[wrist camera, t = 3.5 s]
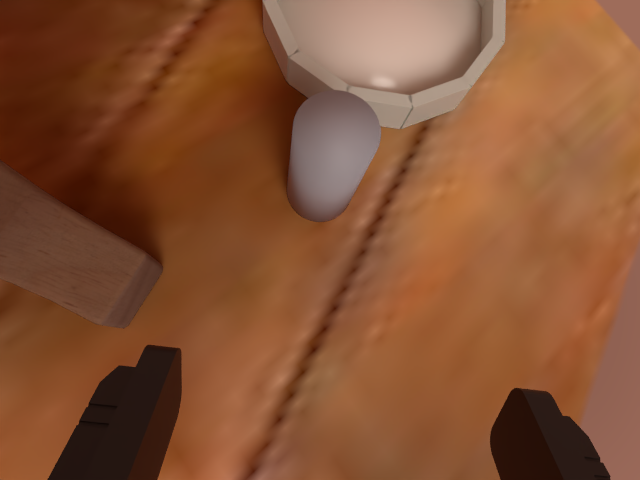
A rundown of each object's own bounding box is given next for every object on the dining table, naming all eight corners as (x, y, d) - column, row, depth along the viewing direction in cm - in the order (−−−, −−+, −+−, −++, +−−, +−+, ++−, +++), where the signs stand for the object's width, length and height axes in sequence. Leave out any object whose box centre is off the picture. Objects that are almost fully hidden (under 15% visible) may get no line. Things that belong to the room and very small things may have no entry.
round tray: (250, 106, 33) (248, 82, 30) (282, -86, 37) (283, -124, 34) (483, 142, 34) (503, 122, 31) (489, -48, 38) (507, -81, 35)
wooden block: (167, 267, 30) (19, 146, 12) (126, 331, 28) (-102, 298, 11) (44, 200, 30) (-277, -15, 12) (-2, 260, 29) (-425, 118, 11)
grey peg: (282, 217, 31) (287, 164, 22) (291, 156, 32) (298, 83, 23) (347, 225, 31) (377, 177, 23) (353, 165, 32) (384, 97, 24)
